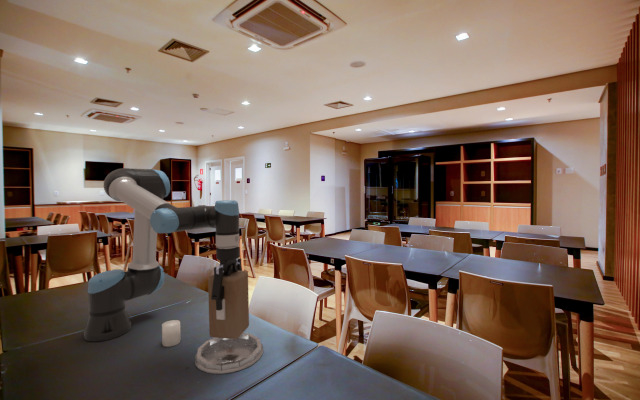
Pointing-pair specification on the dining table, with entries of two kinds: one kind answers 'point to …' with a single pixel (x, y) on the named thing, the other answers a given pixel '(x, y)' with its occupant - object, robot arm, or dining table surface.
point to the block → (230, 306)
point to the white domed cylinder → (171, 333)
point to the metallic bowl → (228, 354)
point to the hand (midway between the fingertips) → (229, 312)
